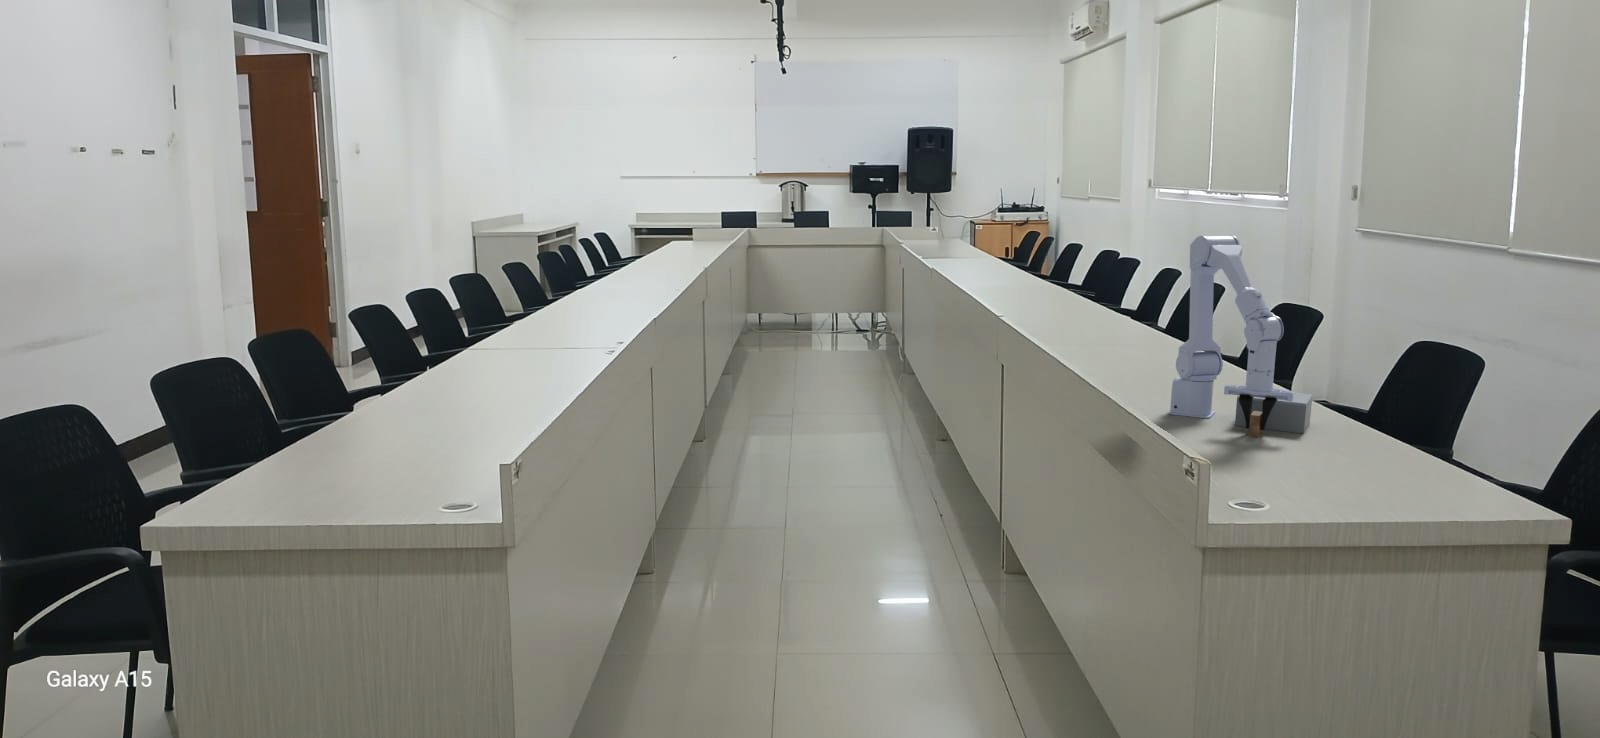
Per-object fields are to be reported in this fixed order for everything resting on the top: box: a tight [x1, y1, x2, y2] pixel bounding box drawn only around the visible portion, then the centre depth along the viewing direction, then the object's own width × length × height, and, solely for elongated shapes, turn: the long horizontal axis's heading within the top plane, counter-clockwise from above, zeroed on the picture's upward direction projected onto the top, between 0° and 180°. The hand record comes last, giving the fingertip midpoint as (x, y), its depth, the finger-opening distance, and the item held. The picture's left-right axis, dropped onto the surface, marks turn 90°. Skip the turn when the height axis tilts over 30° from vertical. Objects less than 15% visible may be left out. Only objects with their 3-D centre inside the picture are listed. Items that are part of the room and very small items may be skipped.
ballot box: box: [1234, 392, 1313, 434], centre depth 274 cm, size 15×12×7 cm
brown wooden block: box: [1248, 411, 1263, 438], centre depth 264 cm, size 2×5×5 cm, turn 151°
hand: (1255, 428), depth 264 cm, fingers open, 2 cm apart
